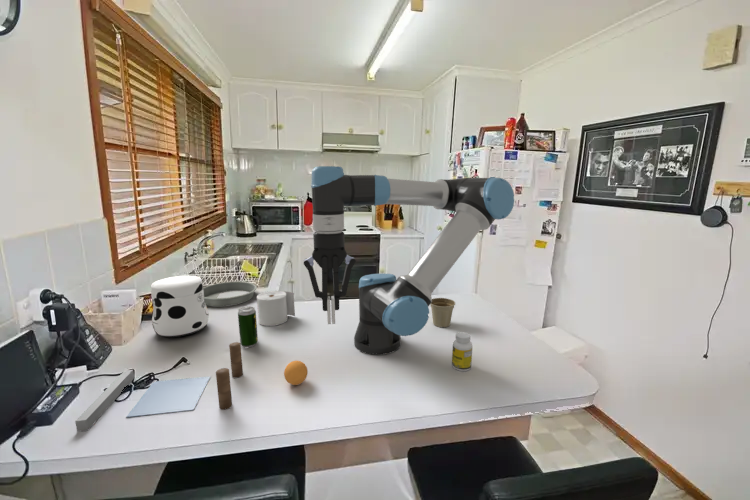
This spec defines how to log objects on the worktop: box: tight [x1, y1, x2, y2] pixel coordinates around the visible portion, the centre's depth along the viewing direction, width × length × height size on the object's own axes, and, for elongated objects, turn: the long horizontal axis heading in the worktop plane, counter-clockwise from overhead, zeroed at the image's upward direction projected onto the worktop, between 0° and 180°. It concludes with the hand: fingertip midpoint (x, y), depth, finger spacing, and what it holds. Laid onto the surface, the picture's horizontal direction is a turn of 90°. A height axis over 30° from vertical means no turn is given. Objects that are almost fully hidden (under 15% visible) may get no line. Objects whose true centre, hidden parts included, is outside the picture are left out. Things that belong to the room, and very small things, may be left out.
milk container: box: [150, 275, 210, 338], centre depth 120 cm, size 17×17×18 cm
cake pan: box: [203, 281, 257, 308], centre depth 155 cm, size 25×25×4 cm
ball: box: [283, 360, 309, 386], centre depth 90 cm, size 6×6×6 cm
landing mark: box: [125, 376, 211, 418], centre depth 85 cm, size 14×14×1 cm
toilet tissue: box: [256, 290, 296, 327], centre depth 130 cm, size 11×12×10 cm
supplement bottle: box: [451, 331, 473, 372], centre depth 97 cm, size 5×5×10 cm
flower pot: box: [429, 297, 456, 328], centre depth 126 cm, size 9×9×9 cm
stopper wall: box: [74, 369, 135, 432], centre depth 83 cm, size 2×20×2 cm, turn 10°
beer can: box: [237, 305, 259, 348], centre depth 111 cm, size 5×5×12 cm
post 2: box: [228, 341, 244, 379], centre depth 93 cm, size 3×3×9 cm
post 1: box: [215, 367, 233, 411], centre depth 80 cm, size 3×3×9 cm
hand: (331, 321), depth 89 cm, fingers closed
